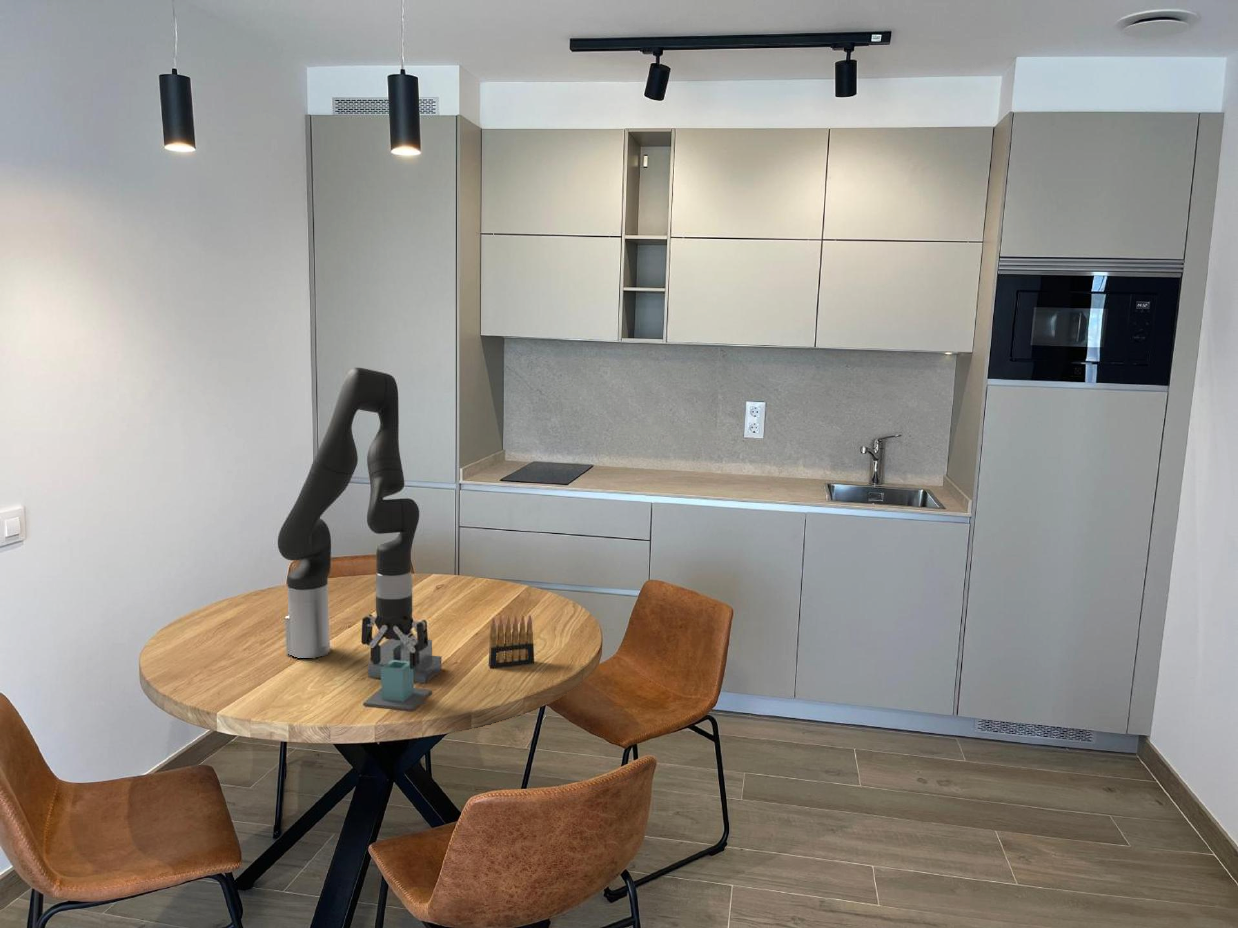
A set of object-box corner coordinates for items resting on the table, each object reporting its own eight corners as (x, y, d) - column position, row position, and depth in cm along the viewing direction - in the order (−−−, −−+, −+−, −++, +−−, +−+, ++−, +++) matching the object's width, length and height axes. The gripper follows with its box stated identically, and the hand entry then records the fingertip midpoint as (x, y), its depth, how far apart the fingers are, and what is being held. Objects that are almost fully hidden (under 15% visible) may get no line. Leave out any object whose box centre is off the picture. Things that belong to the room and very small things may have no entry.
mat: (363, 705, 188) (363, 702, 188) (385, 687, 197) (385, 684, 197) (411, 710, 185) (411, 708, 185) (431, 692, 195) (431, 689, 195)
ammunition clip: (532, 660, 215) (532, 612, 213) (534, 663, 213) (534, 615, 211) (488, 665, 211) (488, 617, 209) (490, 668, 209) (489, 619, 208)
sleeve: (381, 699, 190) (380, 667, 188) (392, 690, 194) (391, 659, 193) (403, 701, 188) (402, 670, 187) (413, 692, 193) (413, 661, 192)
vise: (367, 676, 203) (365, 619, 201) (385, 662, 212) (384, 608, 210) (425, 682, 200) (424, 625, 198) (441, 668, 209) (440, 612, 207)
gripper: (433, 590, 190) (433, 662, 192) (371, 584, 193) (373, 655, 195) (417, 600, 183) (418, 675, 185) (354, 594, 186) (355, 668, 188)
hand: (394, 665), depth 190 cm, fingers open, 8 cm apart
